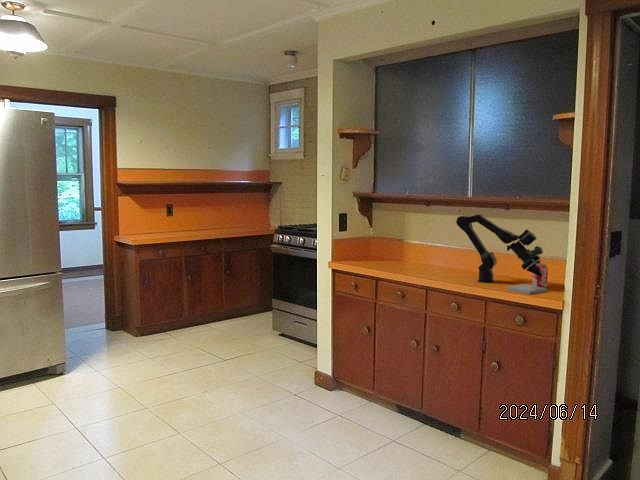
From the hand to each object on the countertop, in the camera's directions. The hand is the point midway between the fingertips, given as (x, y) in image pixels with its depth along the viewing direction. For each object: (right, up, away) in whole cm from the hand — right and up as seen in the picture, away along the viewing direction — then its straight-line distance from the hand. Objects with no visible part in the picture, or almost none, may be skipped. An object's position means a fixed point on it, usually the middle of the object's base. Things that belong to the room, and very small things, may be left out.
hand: (542, 274), depth 266 cm
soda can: (-1, -7, +2) cm, 7 cm away
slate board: (-11, -7, -6) cm, 14 cm away
